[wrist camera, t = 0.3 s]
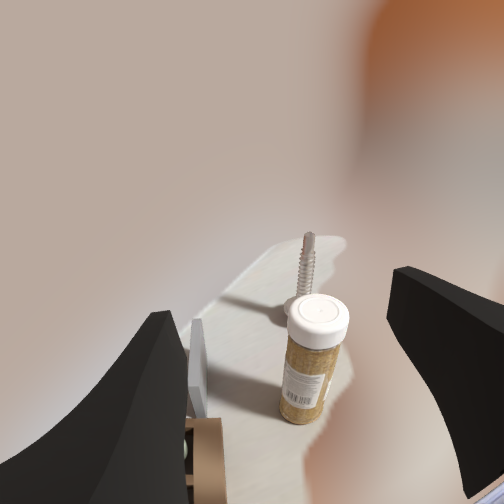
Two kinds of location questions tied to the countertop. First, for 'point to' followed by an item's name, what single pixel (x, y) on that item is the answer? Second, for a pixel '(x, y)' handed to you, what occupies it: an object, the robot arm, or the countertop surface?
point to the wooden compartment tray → (205, 461)
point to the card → (198, 370)
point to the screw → (304, 270)
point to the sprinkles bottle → (311, 355)
